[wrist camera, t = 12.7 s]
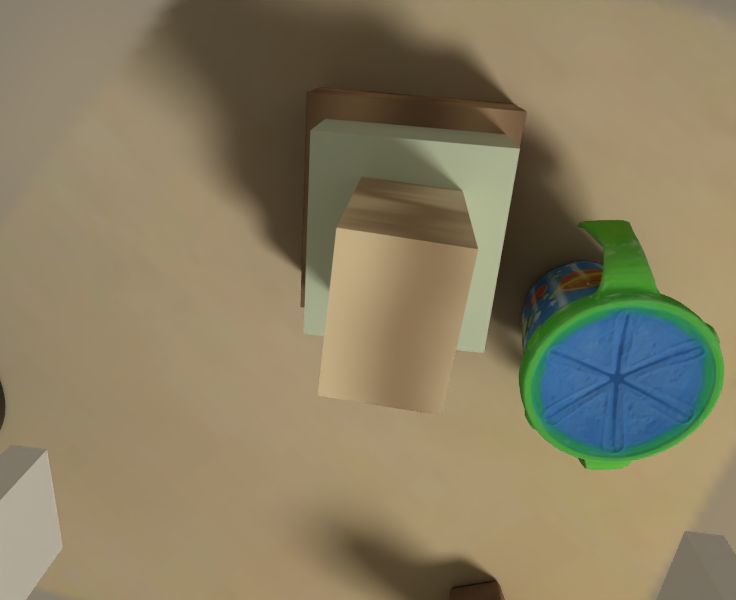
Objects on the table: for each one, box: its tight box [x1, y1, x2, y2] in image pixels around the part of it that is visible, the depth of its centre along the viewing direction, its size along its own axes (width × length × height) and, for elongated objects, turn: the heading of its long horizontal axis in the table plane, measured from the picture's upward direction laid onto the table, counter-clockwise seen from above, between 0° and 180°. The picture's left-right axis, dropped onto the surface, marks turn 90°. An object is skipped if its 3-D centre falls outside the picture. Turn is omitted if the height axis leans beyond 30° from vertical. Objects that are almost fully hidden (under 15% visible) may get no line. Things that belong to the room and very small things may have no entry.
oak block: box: [318, 176, 478, 415], centre depth 26 cm, size 5×7×9 cm
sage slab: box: [304, 119, 520, 353], centre depth 32 cm, size 10×11×5 cm
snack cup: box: [519, 220, 724, 470], centre depth 36 cm, size 16×10×10 cm
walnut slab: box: [301, 87, 526, 307], centre depth 37 cm, size 12×13×5 cm
